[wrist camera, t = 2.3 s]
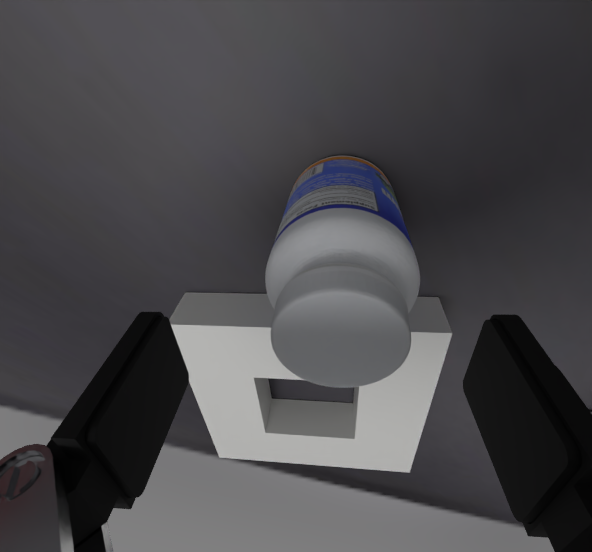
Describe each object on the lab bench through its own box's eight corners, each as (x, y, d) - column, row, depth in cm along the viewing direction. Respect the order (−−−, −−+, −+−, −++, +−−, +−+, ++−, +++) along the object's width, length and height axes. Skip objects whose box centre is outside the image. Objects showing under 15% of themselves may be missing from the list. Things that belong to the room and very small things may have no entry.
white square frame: (438, 297, 20) (452, 333, 17) (403, 436, 29) (409, 472, 27) (185, 292, 22) (166, 324, 19) (228, 424, 31) (219, 457, 29)
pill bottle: (393, 245, 18) (436, 404, 10) (297, 254, 19) (269, 405, 11) (394, 143, 15) (454, 259, 7) (279, 159, 16) (223, 278, 8)
